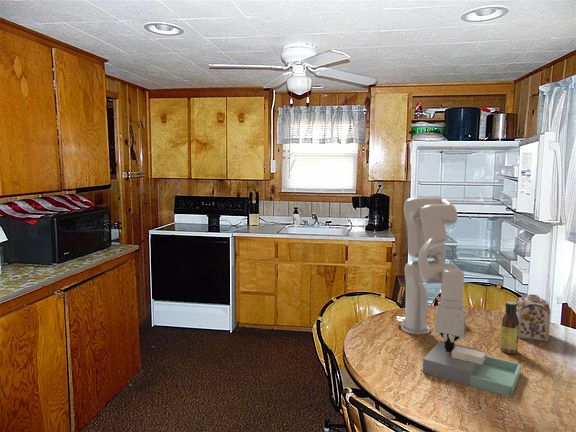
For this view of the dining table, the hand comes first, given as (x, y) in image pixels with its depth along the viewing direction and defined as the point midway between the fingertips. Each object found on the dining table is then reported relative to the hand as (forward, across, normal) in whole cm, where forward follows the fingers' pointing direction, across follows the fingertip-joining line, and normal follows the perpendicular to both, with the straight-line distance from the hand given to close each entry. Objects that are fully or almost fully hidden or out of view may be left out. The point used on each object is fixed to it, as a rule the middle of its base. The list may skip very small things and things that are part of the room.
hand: (449, 350), depth 156 cm
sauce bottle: (+6, +16, +28) cm, 33 cm away
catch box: (+6, +16, 0) cm, 17 cm away
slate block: (+6, +2, 0) cm, 6 cm away
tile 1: (+1, +4, 0) cm, 4 cm away
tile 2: (+1, +9, 0) cm, 9 cm away
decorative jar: (+6, +20, +52) cm, 56 cm away
